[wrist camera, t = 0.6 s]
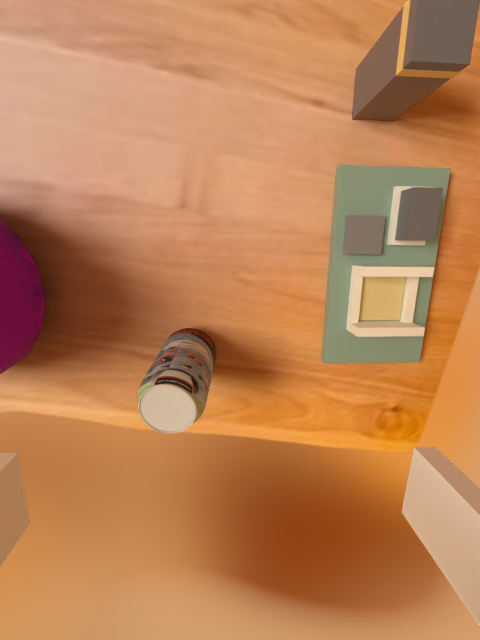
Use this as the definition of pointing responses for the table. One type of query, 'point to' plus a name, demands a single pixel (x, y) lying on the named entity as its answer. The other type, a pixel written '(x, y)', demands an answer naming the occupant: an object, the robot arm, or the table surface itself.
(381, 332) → the board
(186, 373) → the beverage can
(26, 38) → the table surface
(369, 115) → the plug
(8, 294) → the decorative plant
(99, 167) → the table surface
